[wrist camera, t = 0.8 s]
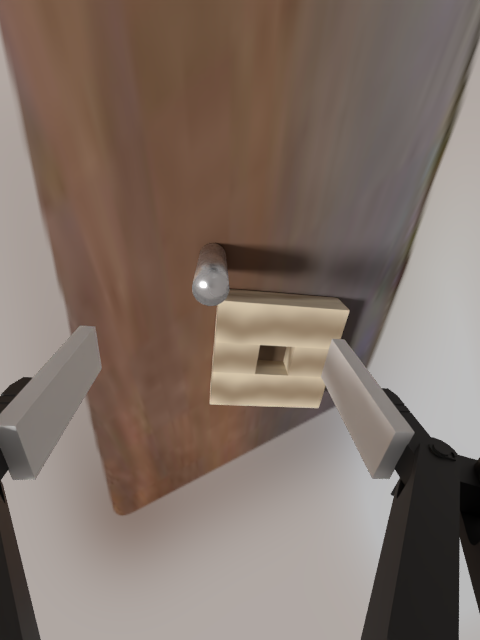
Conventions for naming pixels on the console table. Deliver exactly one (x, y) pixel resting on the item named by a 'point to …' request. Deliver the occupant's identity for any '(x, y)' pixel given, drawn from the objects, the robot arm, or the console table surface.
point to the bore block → (273, 348)
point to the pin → (211, 276)
